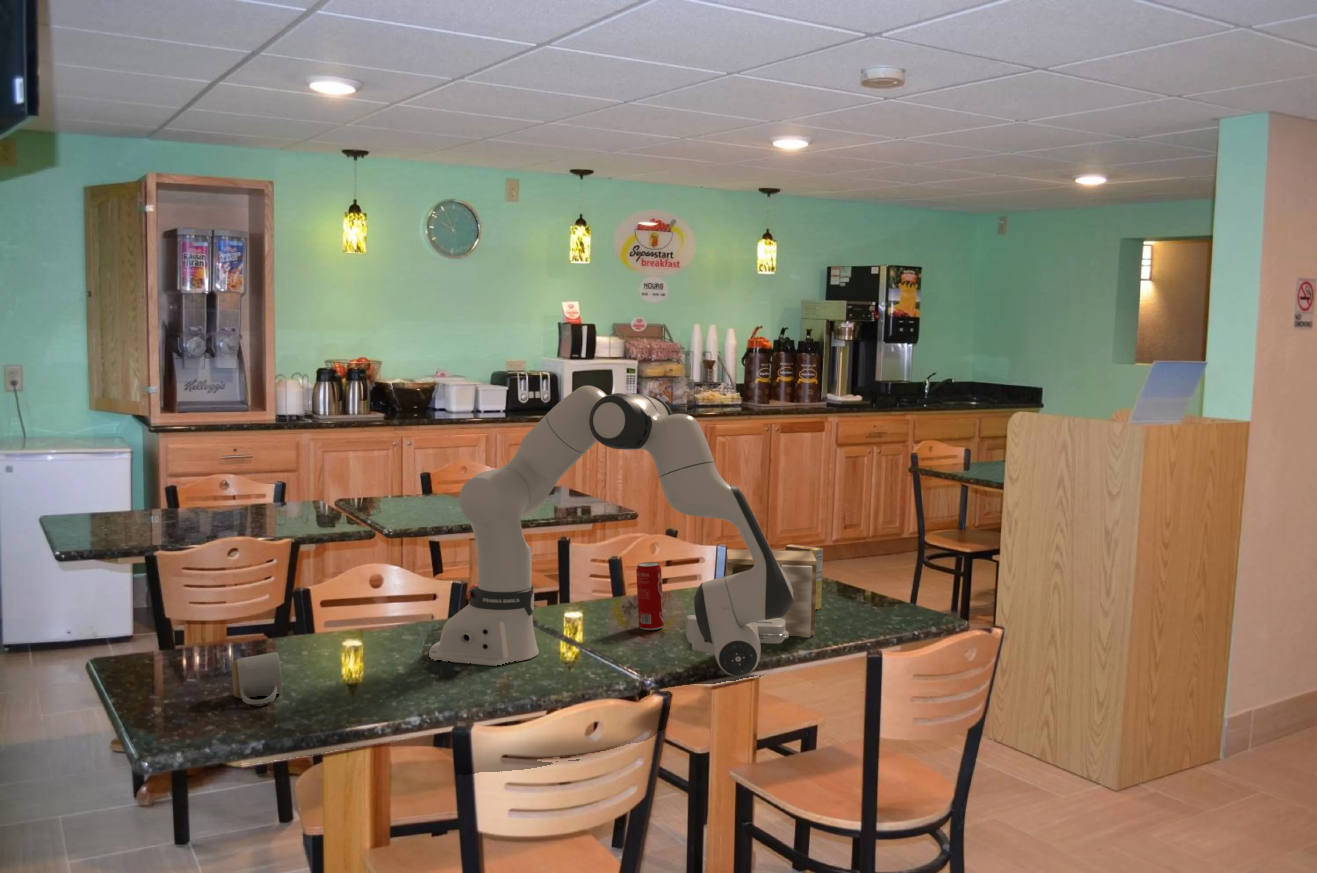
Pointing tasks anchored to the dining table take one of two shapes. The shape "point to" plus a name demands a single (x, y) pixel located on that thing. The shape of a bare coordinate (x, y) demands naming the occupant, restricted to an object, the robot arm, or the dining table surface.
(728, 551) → the cabinet
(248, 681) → the ceramic mug
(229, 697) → the dining table surface
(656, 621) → the beverage can
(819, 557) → the candy box
